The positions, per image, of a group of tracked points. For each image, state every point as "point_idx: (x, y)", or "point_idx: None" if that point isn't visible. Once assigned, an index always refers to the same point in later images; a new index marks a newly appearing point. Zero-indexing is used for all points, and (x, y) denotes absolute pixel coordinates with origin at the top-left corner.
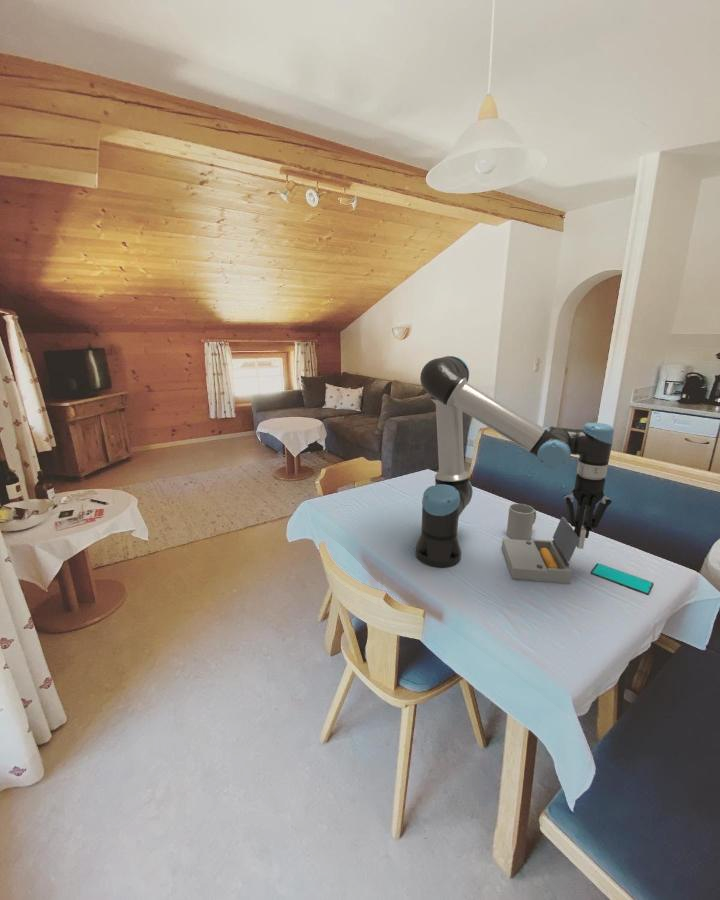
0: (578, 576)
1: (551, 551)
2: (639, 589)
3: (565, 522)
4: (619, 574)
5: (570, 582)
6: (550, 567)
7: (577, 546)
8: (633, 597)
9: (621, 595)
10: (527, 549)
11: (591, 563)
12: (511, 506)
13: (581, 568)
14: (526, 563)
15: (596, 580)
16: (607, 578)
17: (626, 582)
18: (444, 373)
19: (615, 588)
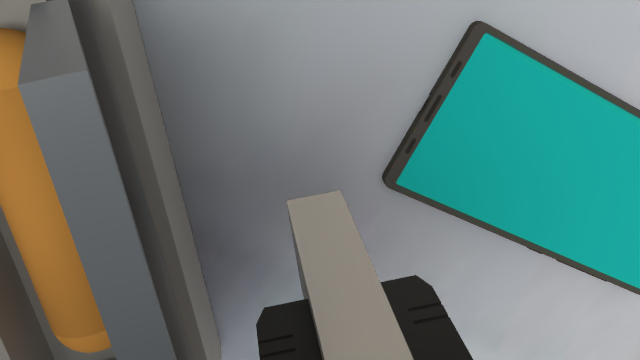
0: (289, 243)
1: None
2: (617, 272)
3: (107, 326)
4: (578, 143)
5: (220, 352)
6: (70, 348)
7: (298, 268)
8: (548, 336)
9: (491, 342)
10: None
11: (432, 22)
12: None
13: (332, 129)
14: None
15: (398, 248)
16: (476, 219)
17: (578, 225)
18: None
19: (485, 291)
